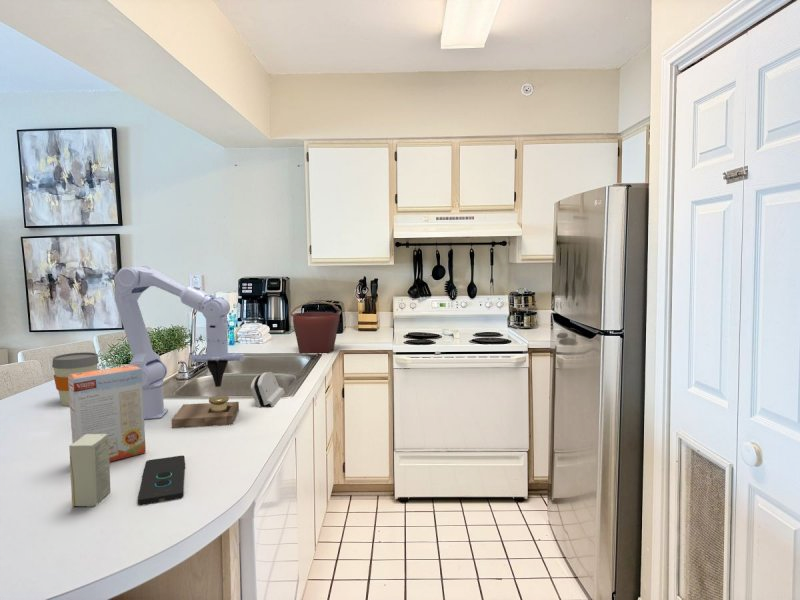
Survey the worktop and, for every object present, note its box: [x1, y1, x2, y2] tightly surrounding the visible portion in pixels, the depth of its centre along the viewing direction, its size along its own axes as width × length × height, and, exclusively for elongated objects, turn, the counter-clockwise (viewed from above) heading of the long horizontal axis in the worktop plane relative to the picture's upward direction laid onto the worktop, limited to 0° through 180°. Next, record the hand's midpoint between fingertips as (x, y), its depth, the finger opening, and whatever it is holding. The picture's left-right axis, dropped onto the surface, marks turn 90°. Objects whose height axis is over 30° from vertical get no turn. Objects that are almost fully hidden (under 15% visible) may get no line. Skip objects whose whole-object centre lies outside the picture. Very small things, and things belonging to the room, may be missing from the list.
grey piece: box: [250, 371, 285, 408], centre depth 164 cm, size 17×5×10 cm, turn 0°
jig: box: [171, 401, 240, 429], centre depth 145 cm, size 16×14×2 cm
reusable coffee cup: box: [51, 351, 99, 407], centre depth 161 cm, size 13×12×15 cm
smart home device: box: [137, 455, 186, 506], centre depth 105 cm, size 8×2×20 cm
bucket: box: [290, 300, 343, 354], centre depth 246 cm, size 24×22×25 cm
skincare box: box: [68, 434, 112, 507], centre depth 96 cm, size 6×4×12 cm
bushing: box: [208, 394, 230, 413], centre depth 146 cm, size 5×5×6 cm
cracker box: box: [68, 365, 147, 463], centre depth 116 cm, size 14×6×21 cm, turn 134°
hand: (218, 385), depth 146 cm, fingers closed
